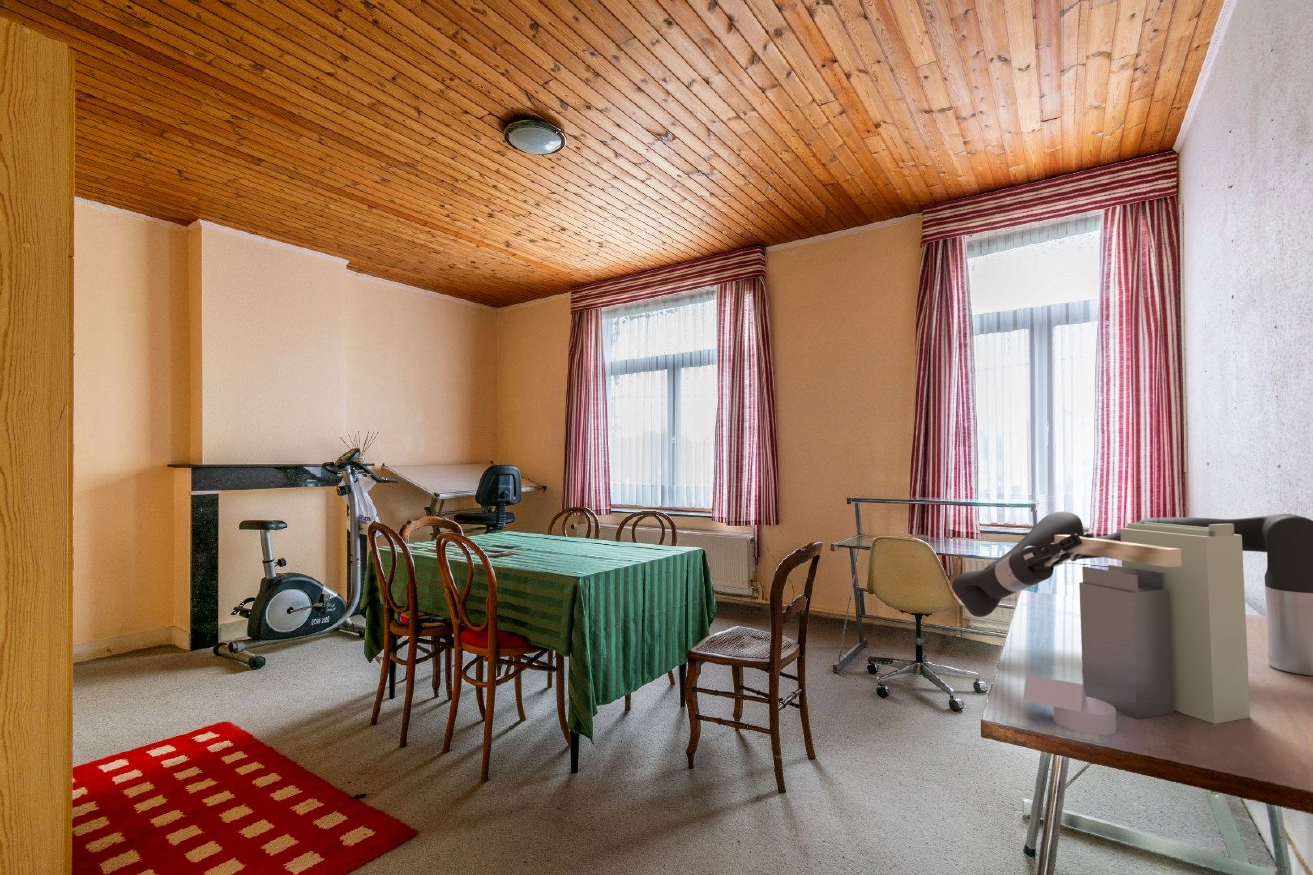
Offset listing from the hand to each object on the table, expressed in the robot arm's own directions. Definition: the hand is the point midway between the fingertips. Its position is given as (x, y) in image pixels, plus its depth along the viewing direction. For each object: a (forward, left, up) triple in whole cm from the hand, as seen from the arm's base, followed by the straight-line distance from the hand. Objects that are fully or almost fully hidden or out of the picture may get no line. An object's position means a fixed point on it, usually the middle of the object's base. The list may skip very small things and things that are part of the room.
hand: (1085, 538), depth 124 cm
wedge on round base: (+5, +17, -30) cm, 35 cm away
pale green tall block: (-15, -1, -30) cm, 34 cm away
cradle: (-5, +5, -30) cm, 31 cm away
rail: (-4, +4, -3) cm, 6 cm away
